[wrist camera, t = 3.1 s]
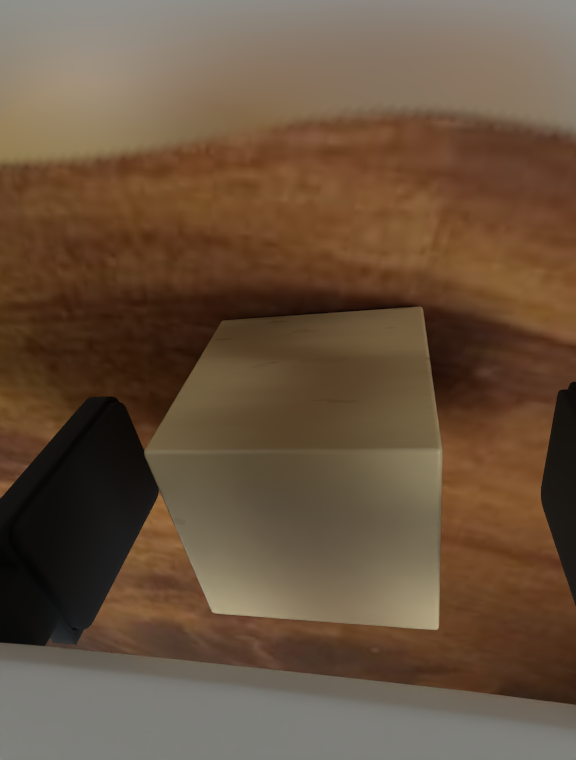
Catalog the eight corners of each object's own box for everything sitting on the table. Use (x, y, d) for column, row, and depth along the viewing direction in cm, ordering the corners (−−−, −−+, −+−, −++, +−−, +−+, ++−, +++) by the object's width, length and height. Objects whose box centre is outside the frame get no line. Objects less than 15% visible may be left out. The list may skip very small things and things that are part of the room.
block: (258, 461, 14) (211, 614, 10) (221, 319, 11) (140, 452, 8) (424, 462, 13) (439, 631, 9) (422, 304, 10) (443, 451, 6)
